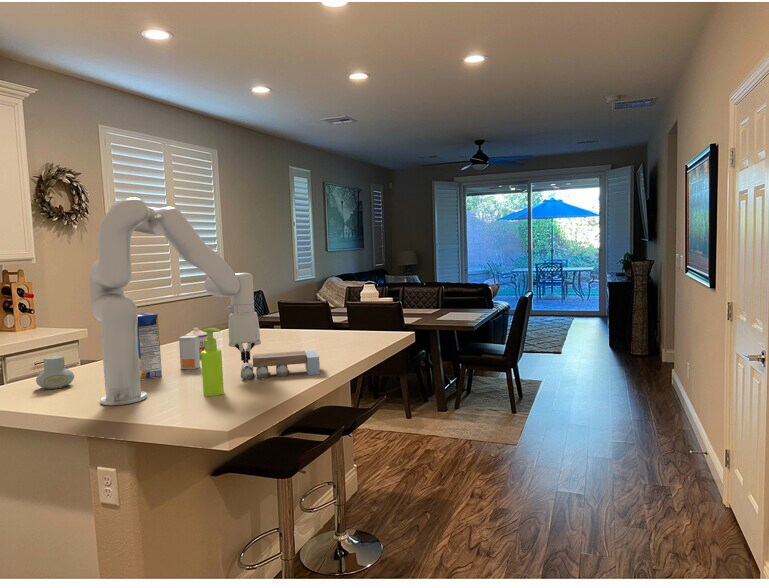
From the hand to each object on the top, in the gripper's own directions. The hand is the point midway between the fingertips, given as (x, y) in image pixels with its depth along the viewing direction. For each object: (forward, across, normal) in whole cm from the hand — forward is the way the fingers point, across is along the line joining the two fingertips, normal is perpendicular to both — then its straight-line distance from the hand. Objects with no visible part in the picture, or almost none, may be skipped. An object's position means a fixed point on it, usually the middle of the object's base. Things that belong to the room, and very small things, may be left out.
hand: (246, 362), depth 191 cm
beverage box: (+5, -35, +15) cm, 38 cm away
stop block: (+5, +22, 0) cm, 23 cm away
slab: (+1, +11, 0) cm, 11 cm away
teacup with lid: (+5, -20, +51) cm, 55 cm away
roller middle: (+2, +4, 0) cm, 4 cm away
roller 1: (+1, 0, 0) cm, 1 cm away
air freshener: (+5, -62, +8) cm, 63 cm away
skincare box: (+5, -21, +23) cm, 32 cm away
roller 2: (+1, +11, 0) cm, 11 cm away
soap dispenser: (+5, -9, -21) cm, 23 cm away
